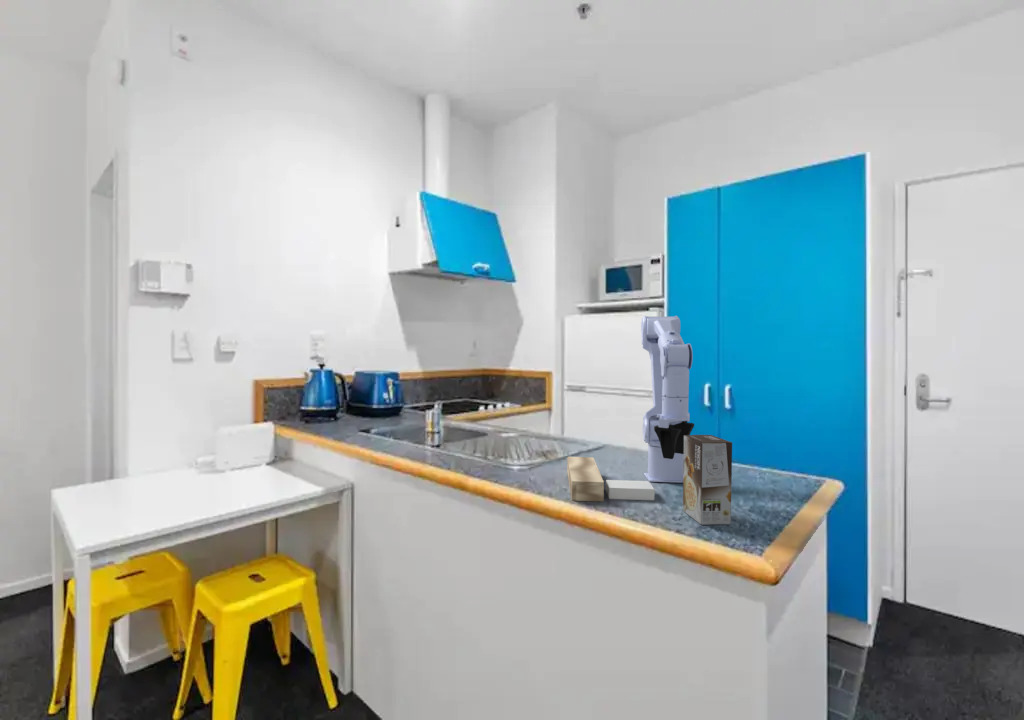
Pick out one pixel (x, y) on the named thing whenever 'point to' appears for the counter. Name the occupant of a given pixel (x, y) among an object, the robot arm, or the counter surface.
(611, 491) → the white flat block
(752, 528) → the counter surface
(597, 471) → the wooden block
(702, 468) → the coffee box
